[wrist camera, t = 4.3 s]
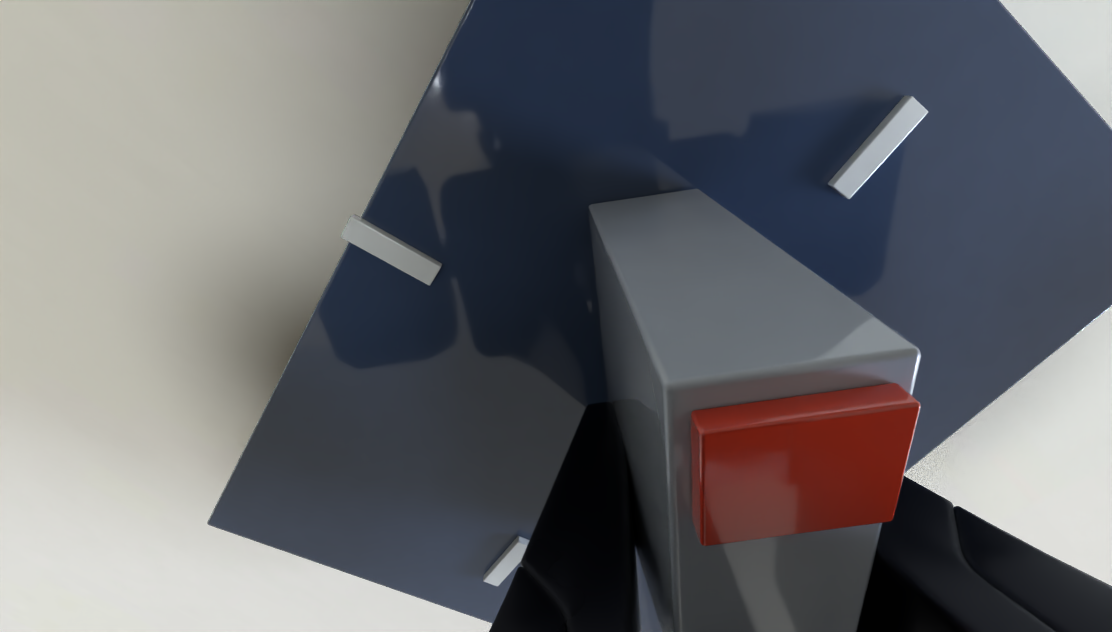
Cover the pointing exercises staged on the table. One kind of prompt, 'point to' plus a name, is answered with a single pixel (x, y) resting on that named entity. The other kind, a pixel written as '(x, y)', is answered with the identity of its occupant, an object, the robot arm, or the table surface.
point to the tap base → (643, 170)
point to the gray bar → (746, 420)
